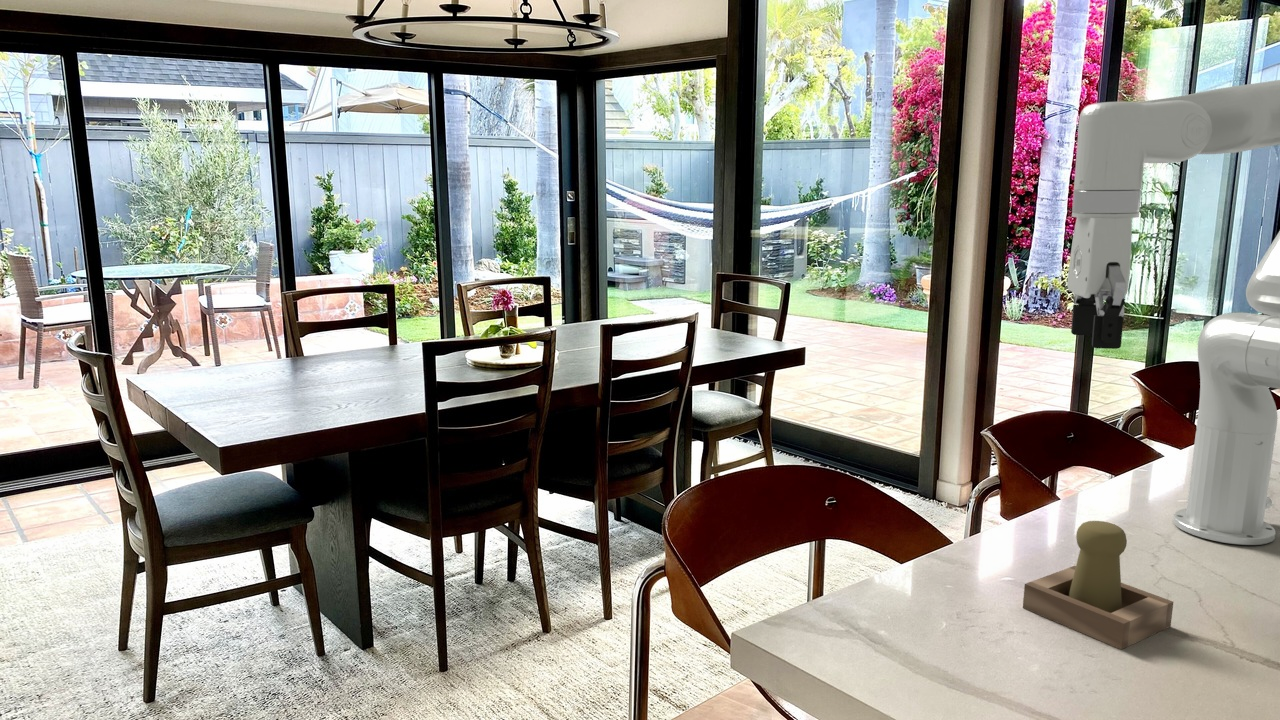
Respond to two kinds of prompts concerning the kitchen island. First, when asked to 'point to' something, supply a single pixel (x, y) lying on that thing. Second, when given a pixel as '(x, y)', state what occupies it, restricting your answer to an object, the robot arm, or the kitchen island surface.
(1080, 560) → the tan rounded tapered piece
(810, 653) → the kitchen island surface
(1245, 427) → the robot arm
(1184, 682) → the kitchen island surface
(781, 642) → the kitchen island surface
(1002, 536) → the kitchen island surface
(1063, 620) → the walnut holder
